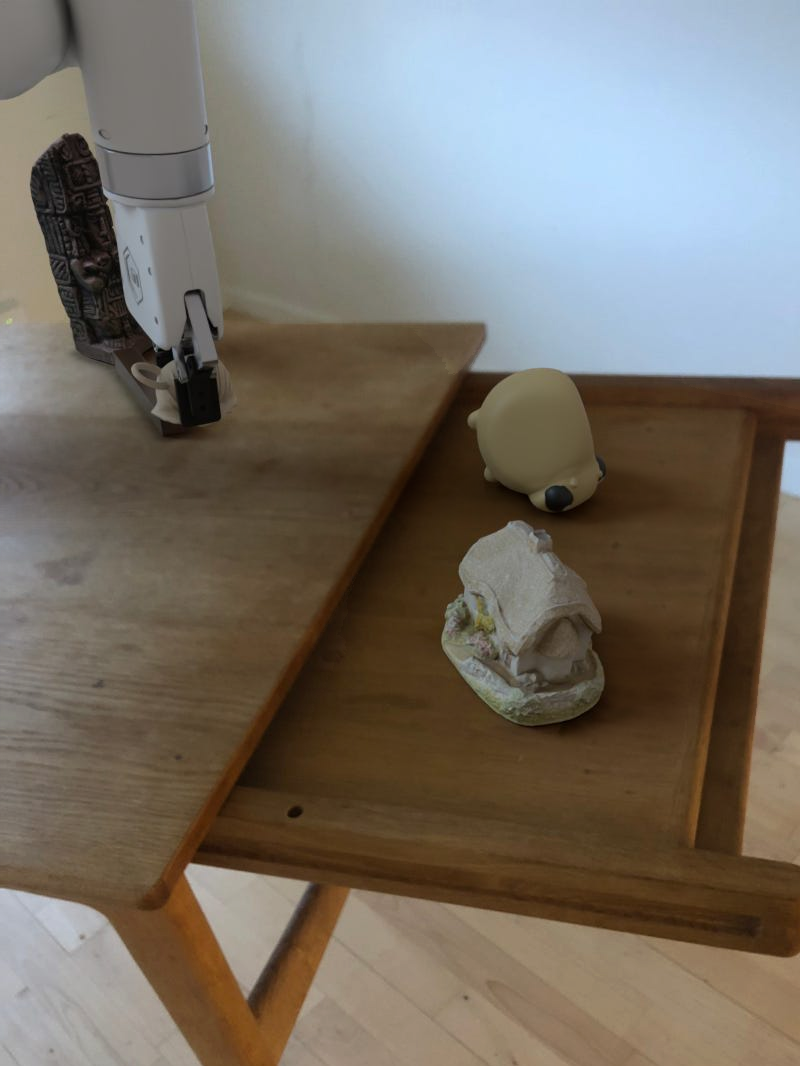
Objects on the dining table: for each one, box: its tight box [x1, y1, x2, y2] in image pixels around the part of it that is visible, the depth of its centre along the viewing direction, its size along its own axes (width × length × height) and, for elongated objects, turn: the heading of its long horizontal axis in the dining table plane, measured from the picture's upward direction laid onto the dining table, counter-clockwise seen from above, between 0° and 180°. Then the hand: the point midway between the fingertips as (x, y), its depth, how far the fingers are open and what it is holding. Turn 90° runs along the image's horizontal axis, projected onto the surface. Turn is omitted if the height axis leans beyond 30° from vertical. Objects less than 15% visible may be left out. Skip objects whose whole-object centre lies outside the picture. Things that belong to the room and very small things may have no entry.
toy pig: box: [467, 367, 607, 513], centre depth 80 cm, size 10×12×11 cm
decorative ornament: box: [131, 355, 239, 428], centre depth 77 cm, size 4×8×5 cm, turn 122°
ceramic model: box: [441, 519, 606, 727], centre depth 63 cm, size 14×11×10 cm
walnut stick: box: [112, 347, 188, 437], centre depth 89 cm, size 2×14×2 cm, turn 32°
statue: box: [29, 132, 154, 365], centre depth 91 cm, size 7×7×20 cm
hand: (191, 408), depth 78 cm, fingers closed on decorative ornament, 4 cm apart
